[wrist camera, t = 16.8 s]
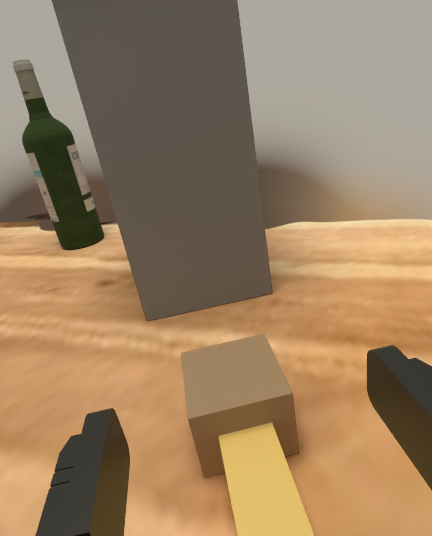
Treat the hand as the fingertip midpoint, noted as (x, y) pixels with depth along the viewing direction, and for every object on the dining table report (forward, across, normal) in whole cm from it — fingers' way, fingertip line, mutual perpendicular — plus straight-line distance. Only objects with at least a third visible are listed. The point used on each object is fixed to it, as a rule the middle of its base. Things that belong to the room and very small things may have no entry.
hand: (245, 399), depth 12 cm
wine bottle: (+60, +20, +12) cm, 64 cm away
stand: (+34, 0, +12) cm, 36 cm away
